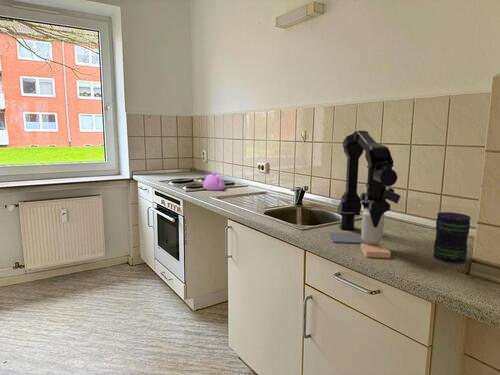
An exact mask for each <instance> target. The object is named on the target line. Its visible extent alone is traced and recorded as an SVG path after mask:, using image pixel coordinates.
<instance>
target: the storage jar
mask: <svg viewBox="0 0 500 375" xmlns="http://www.w3.org/2000/svg"><path fill="white" fill-rule="evenodd" d="M436 214H437V215H436V216H437V217H436V221H435V230H436V231H435V232H436V234H435V240H434V244H433V255H432V256H433V258H434V259H435V260H437V261H439V262H442V263H448V264H452V265H453V264H455V265H460V264H465V263H466V260H467V255H468V236H469V233H470V228H471V216H470V215H466V214H463V213H458V212H450V211H449V212H448V211H445V212H444V211H443V212H442V211H441V212H437V213H436Z"/></svg>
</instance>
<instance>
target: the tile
mask: <svg viewBox="0 0 500 375" xmlns="http://www.w3.org/2000/svg"><path fill="white" fill-rule="evenodd" d="M360 250H361V251H362V253H363V254H364V256H365V257H366V258H379V259H391V256H392V252H391V251H390V250H389V249H388V247H387V246H386V245H385V244H384V243H367V242H366V243H361V244H360Z"/></svg>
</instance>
